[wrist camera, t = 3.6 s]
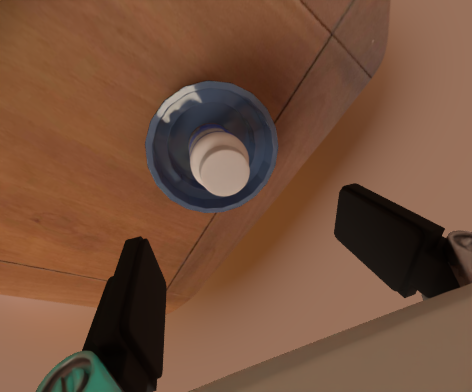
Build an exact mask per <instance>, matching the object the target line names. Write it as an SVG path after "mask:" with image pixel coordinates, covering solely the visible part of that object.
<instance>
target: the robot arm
mask: <svg viewBox="0 0 472 392" xmlns="http://www.w3.org/2000/svg"><path fill="white" fill-rule="evenodd" d="M444 230H445V228H443V227H441V226H439V225H437V224H435V223H433V222H431V221H429V220H427V219H425V218H423V217H421V216H420V215H418V214H416V213H414V212H412V211H410V210H407V209H406V208H404V207H402V206H400V205H398V204H396V203H394V202H392V201H390V200H388V199H386V198H384V197H382V196H380V195H378V194H376V193H374V192H372V191H370V190H368V189H366V188H364V187H363V186H360V185H359V184H350V185H346V186H343V187H342V189H341V190H340V192H339V199H338V207H337V215H336V222H335V229H334V234H335V237H336V238H337V239H338V240H339V241H340V242H341V243H342V244H343V245H344V246H345V247H346V248H347V249H349V250H350V251H351V252H352V253H353V254H354V255H355V256H356V257H357V258H358V259H359V260H360V261H362V262H363V263H364V264H365V265H366V266H367V267H368V268H369V269H370V270H372V272H374V273H375V274H376V275H377V276H378V277H379V278H380V279H381V280H383V282H385V283H386V284H387V285H388V286H389V287H390V288H391V289H392V290H394V291H397V292H398V293H399V294H400V295H402V296H403V297H404V298H406V297H409V296H412V295H414V294H416V291H417V290H418V291H419V292H420V293H422V298H423V301H422V302H419V303H416V304H414V305H411V306H408V307H406V308H403V309H400V310H397V311H395V312H392V313H389V314H387V315H384V316H381V317H379V318H376V319H374V320H371V321H368V322H366V323H363V324H360V325H358V326H355V327H353V328H350V329H347V330H345V331H342V332H339V333H337V334H334V335H332V336H329V337H327V338H324V339H321V340H318V341H316V342H313V343H311V344H308V345H306V346H303V347H300V348H298V349H295V350H292V351H290V352H287V353H285V354H282V355H279V356H277V357H274V358H272V359H269V360H267V361H264V362H261V363H259V364H256V365H254V366H251V367H249V368H246V369H243V370H241V371H238V372H236V373H233V374H231V375H228V376H226V377H223V378H221V379H218V380H216V381H213V382H211V383H209V384H206V385H204V386H201V387H199V388H196V389H194V390H192V391H189V392H472V232H469V231H453V232H450V233H449V234H448V236H447V238H444V237H442V234H443V232H444ZM165 310H166V282H165V279H164V277H163V274H162V272H161V270H160V267H159V265H158V263H157V260H156V258H155V255H154V253H153V251H152V248H151V246H150V244H149V241H148V240H147V239H143V238H142V237H136V238H132V239H128V240H126V241H125V244H124V247H123V250H122V253H121V256H120V259H119V262H118V264H117V267H116V270H115V273H114V276H112V277H110V278H109V279H108V281H107V283H106V286H105V289H104V292H103V294H102V297H101V300H100V303H99V305H98V308H97V311H96V314H95V316H94V319H93V322H92V324H91V327H90V330H89V333H88V336H87V338H86V341H85V344H84V347H83V349H82V351H81V352H77V353H74V354H72V355H70V356H68V357H67V358H65V359H64V360H63V361H61V362H60V363H59V364H57V365H56V366H55V367H54V368H53V369H52V370H51V371H50V372H49V373H48V374H47V376H46V377H45V378H44V380H43V381H42V382H41V384H40V385H39V386H38V388H37V390H36V392H153V391H156V386H157V379H158V378H160V377H161V376H162V370H163V350H164V330H165Z"/></svg>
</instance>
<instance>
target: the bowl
mask: <svg viewBox="0 0 472 392" xmlns="http://www.w3.org/2000/svg"><path fill="white" fill-rule="evenodd" d="M207 123H215V124H219V125H221V126H223V127H225V128H226V129H227V130H228V131H229V132H231V133H232V134H233V135H234V136H235V137H237V138H238V139H239V140H240V141H241V142H242V143H243V144H244V146H245V148H246V150H247V152H248V156H249V168H250V175H249V179H248V181H247V183H246V185H245V186H244V187H243V188H242V189H241V190H240V191H239V192H237V193H235V194H233V195H230V196H217V195H214V194H212V193H211V192H209V191H208V190H207V189H206V188H205V187H204V186H202V185H201V184H200V183H199V182H198V181H197V180H196V179H195V177H194V175H193V173H192V170H191V166H190V156H189V147H188V146H189V139H190V136H191V134H192V133H193V131H194V130H195V129H196V128H197V127H199V126H201V125H203V124H207ZM145 148H146V157H147V165H148V168H149V170H150V172H151V174H152V176H153V179H154V181H155V183H156V185H157V186H158V187H159V188H160V189H161V190H162V191H163V192H164V193H165V194H166V195H167V196H168V197H169V199H171V200H172V201H174V202H176V203H178V204H179V205H181V206H183V207H185V208H187V209H190V210H195V211H199V212H204V213H214V212H225V211H228V210H231V209H234V208H237V207H240V206H241V205H243V204H244V203H246V202H248V201H249V200H251V199H252V198H254V197H255V196H256V195H257V194H258V193H259V192H260V190H261V189H262V188H263V187H264V186H265V185H266V184H267V182H268V180H269V178H270V176H271V174H272V172H273V170H274V168H275V164H276V158H277V153H278V140H277V132H276V127H275V125H274V122H273V120H272V118H271V116H270V114H269V112H268V110H267V108H266V107H265V106H264V105H263V104H262V103H261V102H260V101H259V100H258V99H257V98H256V97H255V96H254V95H253V94H252V93H251V92H249V91H247V90H245V89H243V88H241V87H239V86H237V85H235V84H233V83H228V82H219V81H209V80H208V81H203V82H199V83H196V84H192V85H188V86H185V87H183V88H181V89H180V90H178V91H177V92H176V93H174V94H173V95H171V96H170V97H169V98H167V99H166V100H165V101H164V102H163V103H162V104H161V106H160V107H159V109H158V110H157V112H156V113H155V115H154V116H153V118H152V119H151V121H150V125H149V129H148V133H147V137H146V142H145Z"/></svg>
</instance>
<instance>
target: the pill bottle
mask: <svg viewBox="0 0 472 392" xmlns="http://www.w3.org/2000/svg"><path fill="white" fill-rule="evenodd" d="M188 147H189V156H190V166H191V170H192V173H193V175H194V177H195V179H196V180H197V181H198V182H199V183H200V184H201V185H202V186H204V187H205V188H206V189H207V190H208V191H209V192H211V193H212V194H214V195H217V196H230V195H233V194H235V193H237V192H239V191H240V190H241V189H242V188H243V187H244V186H245V185H246V183H247V181H248V179H249V175H250V168H249V156H248V152H247V150H246V148H245V146H244V144H243V143H242V142H241V141H240V140H239V139H238V138H237V137H235V136H234V135H233V134H232V133H231V132H229V131H228V130H227V129H226V128H225V127H223V126H221V125H219V124H215V123H207V124H203V125H201V126H199V127H197V128H196V129H195V130H194V131H193V133H192V134H191V136H190V139H189V146H188Z"/></svg>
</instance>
